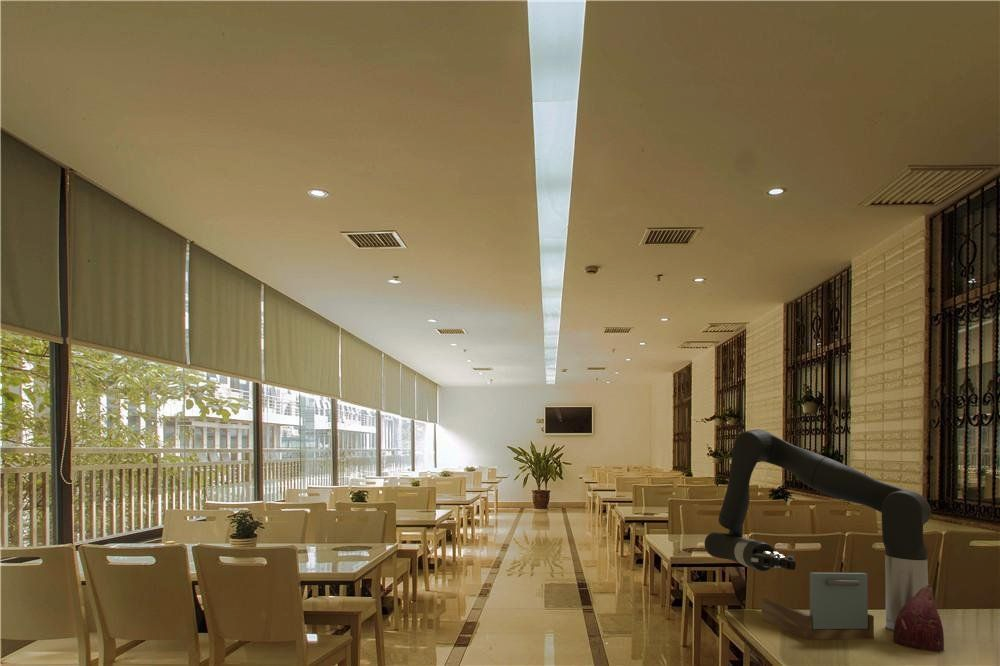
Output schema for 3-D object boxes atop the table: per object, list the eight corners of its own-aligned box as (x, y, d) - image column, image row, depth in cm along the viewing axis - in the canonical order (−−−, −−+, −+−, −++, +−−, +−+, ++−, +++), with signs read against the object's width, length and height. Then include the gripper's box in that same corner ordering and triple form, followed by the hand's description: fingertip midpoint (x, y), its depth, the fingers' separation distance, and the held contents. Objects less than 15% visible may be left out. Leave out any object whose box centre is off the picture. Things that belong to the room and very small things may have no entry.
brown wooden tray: (823, 619, 197) (823, 598, 197) (873, 638, 179) (873, 615, 180) (761, 619, 193) (761, 598, 193) (806, 639, 175) (806, 616, 176)
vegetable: (930, 655, 180) (942, 590, 183) (951, 662, 170) (963, 593, 173) (883, 640, 181) (896, 575, 185) (901, 645, 171) (914, 577, 175)
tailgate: (864, 627, 180) (863, 572, 182) (871, 630, 178) (871, 575, 180) (809, 627, 177) (809, 572, 179) (816, 630, 175) (816, 574, 176)
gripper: (732, 539, 212) (769, 550, 195) (776, 540, 215) (815, 550, 198) (732, 568, 211) (769, 580, 194) (775, 568, 214) (815, 581, 197)
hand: (792, 565), depth 196 cm, fingers closed
